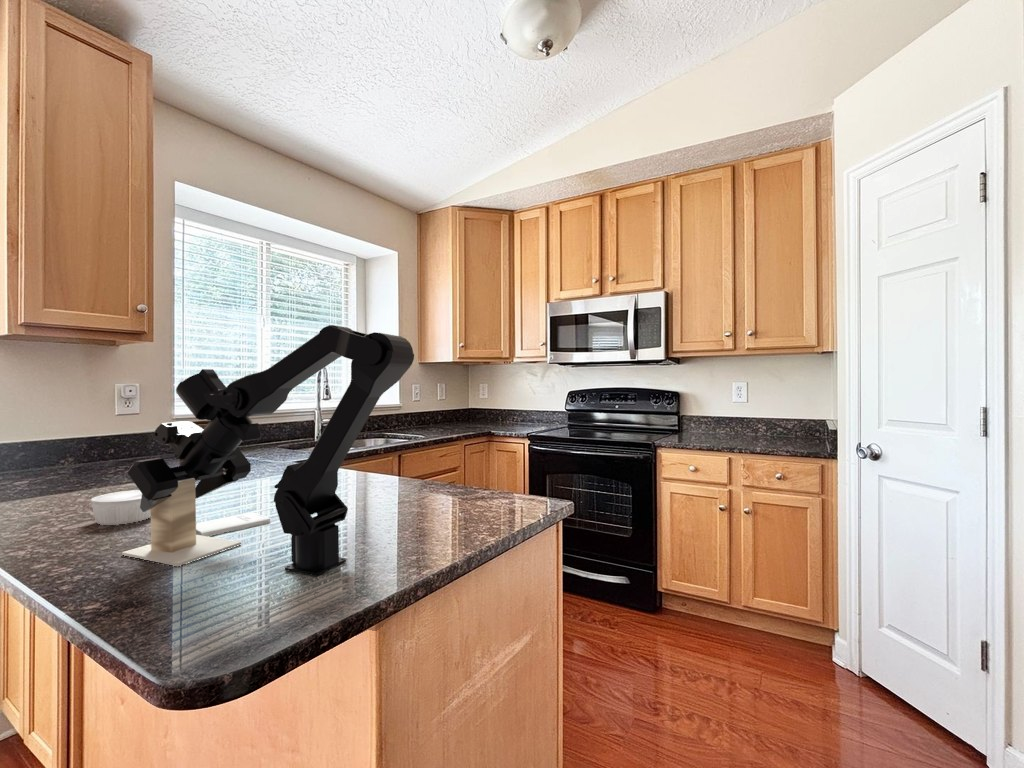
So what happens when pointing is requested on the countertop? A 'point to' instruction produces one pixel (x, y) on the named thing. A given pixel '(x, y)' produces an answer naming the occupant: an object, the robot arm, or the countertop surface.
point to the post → (175, 520)
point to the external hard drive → (230, 524)
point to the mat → (183, 551)
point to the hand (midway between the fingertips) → (169, 503)
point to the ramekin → (119, 508)
